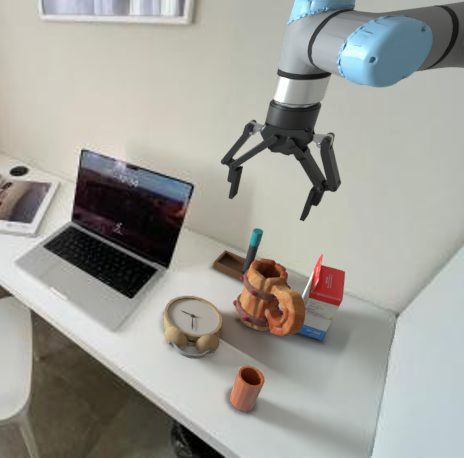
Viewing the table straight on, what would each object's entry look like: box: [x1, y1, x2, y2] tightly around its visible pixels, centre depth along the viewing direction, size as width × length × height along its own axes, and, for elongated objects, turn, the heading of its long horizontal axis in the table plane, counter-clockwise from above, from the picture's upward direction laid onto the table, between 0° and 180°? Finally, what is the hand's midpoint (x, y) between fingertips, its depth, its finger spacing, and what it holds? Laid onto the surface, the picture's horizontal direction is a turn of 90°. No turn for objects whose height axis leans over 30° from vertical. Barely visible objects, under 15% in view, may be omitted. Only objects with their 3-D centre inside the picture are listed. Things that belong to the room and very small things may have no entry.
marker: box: [242, 227, 264, 274], centre depth 80 cm, size 2×2×13 cm
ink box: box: [297, 253, 346, 341], centre depth 69 cm, size 8×5×15 cm, turn 147°
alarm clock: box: [163, 295, 223, 360], centre depth 73 cm, size 11×5×15 cm
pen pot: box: [229, 365, 266, 413], centre depth 60 cm, size 4×4×8 cm
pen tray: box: [212, 249, 246, 283], centre depth 84 cm, size 14×6×2 cm, turn 44°
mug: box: [232, 257, 305, 337], centre depth 68 cm, size 15×8×15 cm, turn 6°
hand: (266, 206), depth 72 cm, fingers open, 13 cm apart
